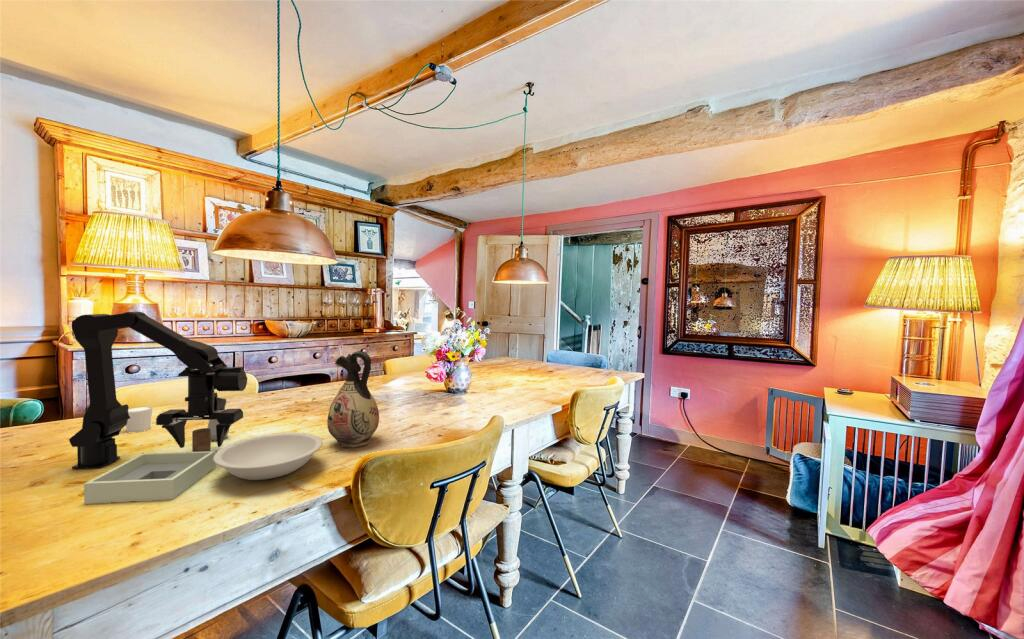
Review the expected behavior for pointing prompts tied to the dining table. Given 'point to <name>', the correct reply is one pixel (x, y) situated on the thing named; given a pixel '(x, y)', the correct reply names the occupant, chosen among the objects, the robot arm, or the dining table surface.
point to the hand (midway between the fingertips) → (201, 446)
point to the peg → (201, 440)
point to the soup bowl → (268, 455)
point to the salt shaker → (213, 424)
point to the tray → (149, 477)
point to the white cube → (139, 419)
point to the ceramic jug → (353, 405)
